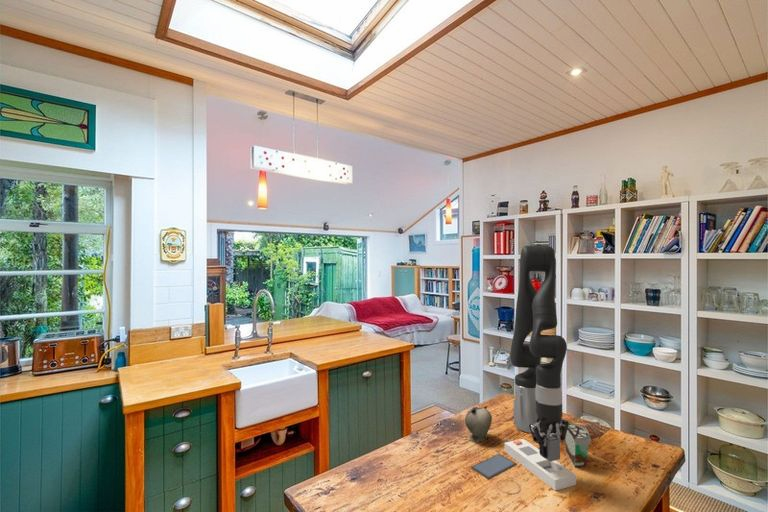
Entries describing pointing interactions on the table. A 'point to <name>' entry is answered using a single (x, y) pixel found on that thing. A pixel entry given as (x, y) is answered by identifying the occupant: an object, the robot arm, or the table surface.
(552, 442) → the block
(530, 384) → the robot arm
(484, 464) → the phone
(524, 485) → the table surface
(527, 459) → the power strip
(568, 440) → the food container
